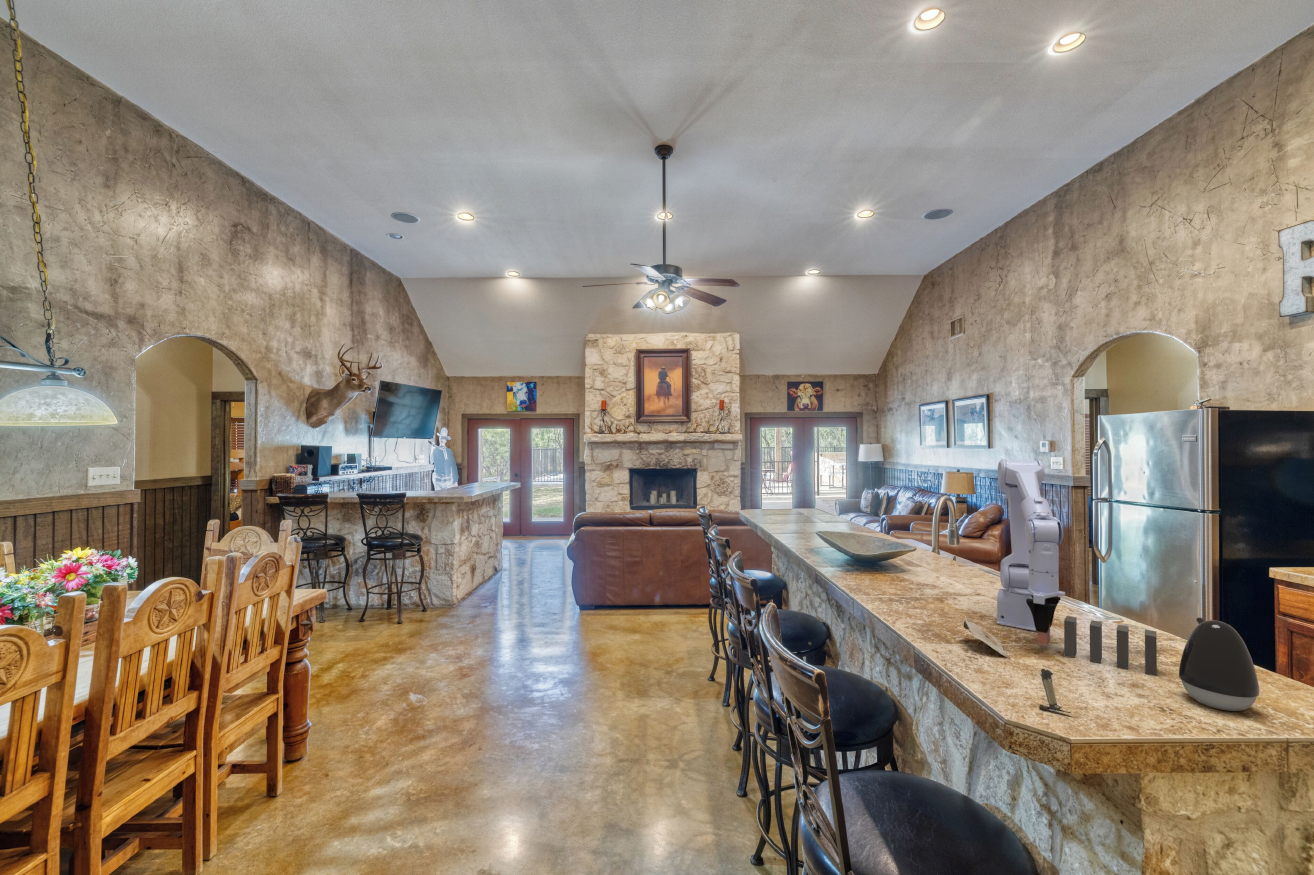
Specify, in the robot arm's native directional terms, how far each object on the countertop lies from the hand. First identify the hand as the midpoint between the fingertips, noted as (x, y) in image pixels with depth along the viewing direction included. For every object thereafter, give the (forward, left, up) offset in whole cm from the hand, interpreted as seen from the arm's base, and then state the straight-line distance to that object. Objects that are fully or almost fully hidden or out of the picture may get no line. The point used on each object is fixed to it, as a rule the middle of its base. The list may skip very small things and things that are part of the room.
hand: (1043, 629), depth 126 cm
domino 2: (+10, 0, -4) cm, 11 cm away
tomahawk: (+6, -28, -5) cm, 29 cm away
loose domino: (0, 0, -3) cm, 3 cm away
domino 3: (+14, 0, -4) cm, 15 cm away
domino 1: (+5, 0, -4) cm, 7 cm away
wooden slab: (-10, -10, -5) cm, 15 cm away
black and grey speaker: (+28, -12, -5) cm, 30 cm away
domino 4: (+19, 0, -4) cm, 19 cm away
